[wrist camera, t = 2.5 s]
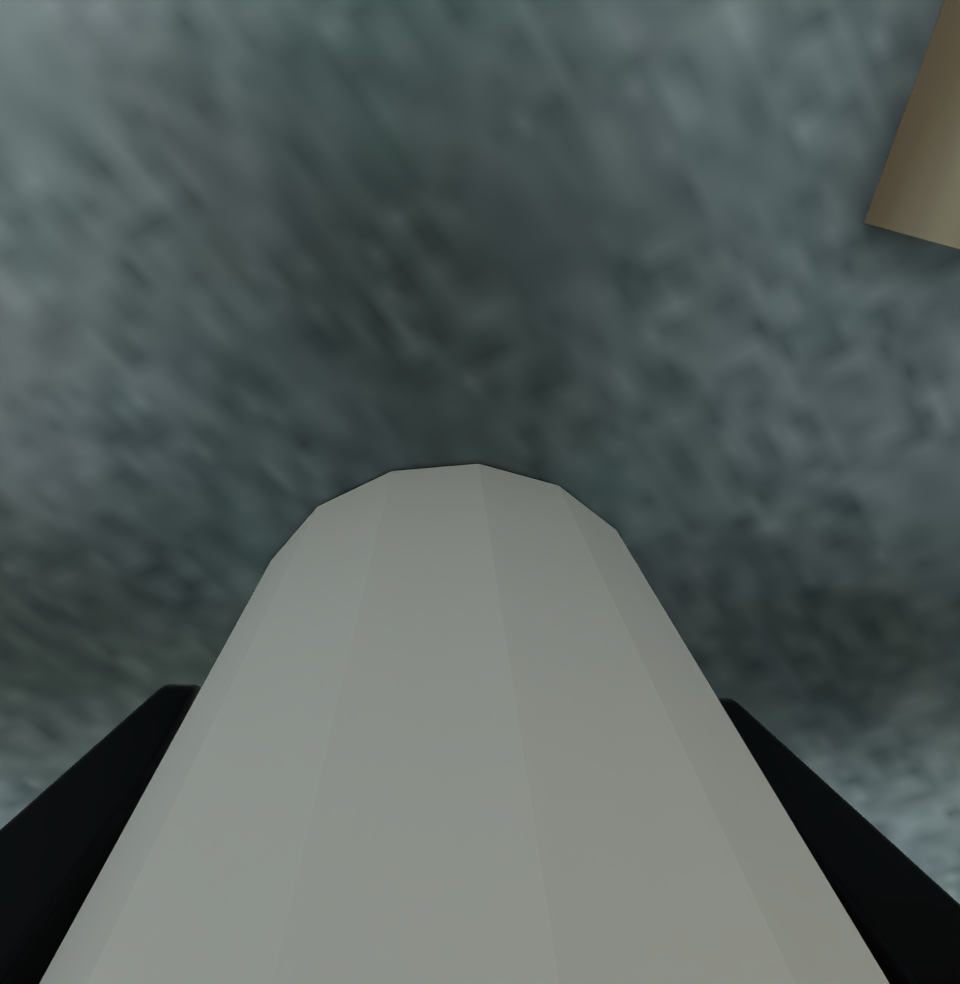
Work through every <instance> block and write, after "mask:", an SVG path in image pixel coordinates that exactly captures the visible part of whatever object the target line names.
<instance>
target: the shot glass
mask: <svg viewBox="0 0 960 984" xmlns="http://www.w3.org/2000/svg"><path fill="white" fill-rule="evenodd" d="M39 984H890V983H889V982H888V980H887V978H886V977H885V975H884V973H883V972H882V970H881V968H880V967H879V965H878V963H877V962H876V960H875V959H874V957H873V955H872V954H871V952H870V950H869V949H868V947H867V945H866V944H865V942H864V940H863V939H862V937H861V935H860V934H859V932H858V930H857V929H856V927H855V925H854V924H853V922H852V920H851V919H850V917H849V915H848V914H847V912H846V910H845V909H844V907H843V905H842V904H841V902H840V900H839V899H838V897H837V895H836V894H835V892H834V890H833V889H832V887H831V885H830V884H829V882H828V881H827V879H826V877H825V876H824V874H823V872H822V871H821V869H820V867H819V866H818V864H817V862H816V861H815V859H814V857H813V856H812V854H811V852H810V851H809V849H808V847H807V846H806V844H805V842H804V841H803V839H802V837H801V836H800V834H799V832H798V831H797V829H796V827H795V826H794V824H793V822H792V821H791V819H790V817H789V816H788V814H787V812H786V811H785V809H784V808H783V806H782V804H781V803H780V801H779V799H778V798H777V796H776V794H775V793H774V791H773V789H772V788H771V786H770V784H769V783H768V781H767V779H766V778H765V776H764V774H763V773H762V771H761V769H760V768H759V766H758V764H757V763H756V761H755V759H754V758H753V756H752V754H751V753H750V751H749V749H748V748H747V746H746V744H745V743H744V741H743V739H742V738H741V736H740V734H739V733H738V731H737V730H736V728H735V726H734V725H733V723H732V721H731V720H730V718H729V716H728V715H727V713H726V711H725V710H724V708H723V706H722V705H721V703H720V701H719V700H718V698H717V696H716V695H715V693H714V691H713V690H712V688H711V686H710V685H709V683H708V681H707V680H706V678H705V676H704V675H703V673H702V671H701V670H700V668H699V666H698V665H697V663H696V661H695V660H694V658H693V656H692V655H691V653H690V652H689V650H688V648H687V647H686V645H685V643H684V642H683V640H682V638H681V637H680V635H679V633H678V632H677V630H676V628H675V627H674V625H673V623H672V622H671V620H670V618H669V617H668V615H667V613H666V612H665V610H664V608H663V607H662V605H661V603H660V602H659V600H658V598H657V597H656V595H655V593H654V592H653V590H652V588H651V587H650V585H649V583H648V582H647V580H646V579H645V577H644V575H643V574H642V572H641V570H640V569H639V567H638V565H637V564H636V562H635V560H634V559H633V557H632V555H631V554H630V552H629V550H628V549H627V547H626V545H625V544H624V542H623V540H622V539H621V537H620V535H619V534H618V532H617V530H616V529H614V528H613V527H612V526H610V525H609V524H608V523H607V522H605V521H604V520H603V519H601V518H600V517H599V516H597V515H596V514H595V513H594V512H592V511H591V510H590V509H588V508H587V507H586V506H585V505H583V504H582V503H581V502H579V501H578V500H577V499H576V498H574V497H573V496H572V495H570V494H569V493H568V492H566V491H565V490H564V489H563V488H561V487H560V486H559V485H555V484H551V483H547V482H544V481H540V480H536V479H533V478H529V477H525V476H522V475H518V474H514V473H511V472H507V471H503V470H500V469H496V468H492V467H489V466H485V465H481V464H469V465H458V466H446V467H435V468H423V469H411V470H400V471H391V472H389V473H387V474H385V475H383V476H380V477H378V478H376V479H374V480H372V481H370V482H368V483H366V484H364V485H362V486H359V487H357V488H355V489H353V490H351V491H349V492H347V493H345V494H343V495H341V496H338V497H336V498H334V499H332V500H330V501H328V502H326V503H324V504H322V505H320V506H317V508H316V509H315V510H314V511H313V512H312V513H311V515H310V516H309V517H308V518H307V519H306V520H305V522H304V523H303V524H302V525H301V526H300V527H299V529H298V530H297V531H296V532H295V533H294V534H293V536H292V537H291V538H290V539H289V540H288V541H287V543H286V544H285V545H284V546H283V547H282V548H281V549H280V551H279V552H278V553H277V554H276V555H275V556H274V558H273V559H272V560H271V562H270V563H269V565H268V567H267V569H266V571H265V573H264V574H263V576H262V578H261V580H260V582H259V584H258V585H257V587H256V589H255V591H254V593H253V594H252V596H251V598H250V600H249V602H248V604H247V605H246V607H245V609H244V611H243V613H242V615H241V616H240V618H239V620H238V622H237V624H236V626H235V627H234V629H233V631H232V633H231V635H230V636H229V638H228V640H227V642H226V644H225V646H224V647H223V649H222V651H221V653H220V655H219V657H218V658H217V660H216V662H215V664H214V666H213V667H212V669H211V671H210V673H209V675H208V677H207V678H206V680H205V682H204V684H203V686H202V688H201V689H200V691H199V693H198V695H197V697H196V699H195V700H194V702H193V704H192V706H191V708H190V709H189V711H188V713H187V715H186V717H185V719H184V720H183V722H182V724H181V726H180V728H179V730H178V731H177V733H176V735H175V737H174V739H173V741H172V742H171V744H170V746H169V748H168V750H167V751H166V753H165V755H164V757H163V759H162V761H161V762H160V764H159V766H158V768H157V770H156V772H155V773H154V775H153V777H152V779H151V781H150V782H149V784H148V786H147V788H146V790H145V792H144V793H143V795H142V797H141V799H140V801H139V803H138V804H137V806H136V808H135V810H134V812H133V814H132V815H131V817H130V819H129V821H128V823H127V824H126V826H125V828H124V830H123V832H122V834H121V835H120V837H119V839H118V841H117V843H116V845H115V846H114V848H113V850H112V852H111V854H110V856H109V857H108V859H107V861H106V863H105V865H104V866H103V868H102V870H101V872H100V874H99V876H98V877H97V879H96V881H95V883H94V885H93V887H92V888H91V890H90V892H89V894H88V896H87V897H86V899H85V901H84V903H83V905H82V907H81V908H80V910H79V912H78V914H77V916H76V918H75V919H74V921H73V923H72V925H71V927H70V929H69V930H68V932H67V934H66V936H65V938H64V939H63V941H62V943H61V945H60V947H59V949H58V950H57V952H56V954H55V956H54V958H53V960H52V961H51V963H50V965H49V967H48V969H47V971H46V972H45V974H44V976H43V978H42V980H41V981H40V983H39Z"/></svg>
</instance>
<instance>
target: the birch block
mask: <svg viewBox="0 0 960 984" xmlns="http://www.w3.org/2000/svg"><path fill="white" fill-rule="evenodd" d="M864 223H866V224H870V225H873V226H877V227H880V228H884V229H888V230H891V231H895V232H899V233H902V234H906V235H910V236H913V237H917V238H921V239H924V240H928V241H932V242H935V243H939V244H942V245H946V246H950V247H953V248H957V249H960V0H944V3H943V6H942V9H941V12H940V14H939V17H938V20H937V23H936V25H935V28H934V31H933V34H932V36H931V39H930V42H929V45H928V47H927V50H926V53H925V56H924V59H923V61H922V64H921V67H920V70H919V72H918V75H917V78H916V81H915V83H914V86H913V89H912V92H911V94H910V97H909V100H908V103H907V105H906V108H905V111H904V114H903V117H902V119H901V122H900V125H899V128H898V130H897V133H896V136H895V139H894V141H893V144H892V147H891V150H890V152H889V155H888V158H887V161H886V164H885V166H884V169H883V172H882V175H881V177H880V180H879V183H878V186H877V188H876V191H875V194H874V197H873V199H872V202H871V205H870V208H869V210H868V213H867V216H866V219H865V222H864Z"/></svg>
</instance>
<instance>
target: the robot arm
mask: <svg viewBox="0 0 960 984" xmlns="http://www.w3.org/2000/svg"><path fill="white" fill-rule="evenodd" d="M200 689H201V688H200V687H199V686H196V685H179V684H169V685H165V686H163V687H161V688H160V689H159V690H157V691H156V692H155V693H154V694H153V695H152V696H151V697H150V698H148V699H147V700H146V701H145V702H144V703H143V704H142V705H141V706H139V707H138V708H137V709H136V710H135V711H134V712H133V713H132V714H130V715H129V716H128V717H127V718H126V719H125V720H124V721H123V722H121V723H120V724H119V725H118V726H117V727H116V728H115V729H114V730H112V731H111V732H110V733H109V734H108V735H107V736H106V737H105V738H103V739H102V740H101V741H100V742H99V743H98V744H97V745H95V746H94V747H93V748H92V749H91V750H90V751H89V752H88V753H86V754H85V755H84V756H83V757H82V758H81V759H80V760H79V761H77V762H76V763H75V764H74V765H73V766H72V767H71V768H70V769H68V770H67V771H66V772H65V773H64V774H63V775H62V776H61V777H59V778H58V779H57V780H56V781H55V782H54V783H53V784H52V785H50V786H49V787H48V788H47V789H46V790H45V791H44V792H43V793H41V794H40V795H39V796H38V797H37V798H36V799H35V800H34V801H32V802H31V803H30V804H29V805H28V806H27V807H26V808H25V809H23V810H22V811H21V812H20V813H19V814H18V815H17V816H16V817H14V818H13V819H12V820H11V821H10V822H9V823H8V824H6V825H5V826H4V827H3V828H2V829H1V830H0V984H39V983H40V981H41V980H42V978H43V976H44V974H45V972H46V971H47V969H48V967H49V965H50V963H51V961H52V960H53V958H54V956H55V954H56V952H57V950H58V949H59V947H60V945H61V943H62V941H63V939H64V938H65V936H66V934H67V932H68V930H69V929H70V927H71V925H72V923H73V921H74V919H75V918H76V916H77V914H78V912H79V910H80V908H81V907H82V905H83V903H84V901H85V899H86V897H87V896H88V894H89V892H90V890H91V888H92V887H93V885H94V883H95V881H96V879H97V877H98V876H99V874H100V872H101V870H102V868H103V866H104V865H105V863H106V861H107V859H108V857H109V856H110V854H111V852H112V850H113V848H114V846H115V845H116V843H117V841H118V839H119V837H120V835H121V834H122V832H123V830H124V828H125V826H126V824H127V823H128V821H129V819H130V817H131V815H132V814H133V812H134V810H135V808H136V806H137V804H138V803H139V801H140V799H141V797H142V795H143V793H144V792H145V790H146V788H147V786H148V784H149V782H150V781H151V779H152V777H153V775H154V773H155V772H156V770H157V768H158V766H159V764H160V762H161V761H162V759H163V757H164V755H165V753H166V751H167V750H168V748H169V746H170V744H171V742H172V741H173V739H174V737H175V735H176V733H177V731H178V730H179V728H180V726H181V724H182V722H183V720H184V719H185V717H186V715H187V713H188V711H189V709H190V708H191V706H192V704H193V702H194V700H195V699H196V697H197V695H198V693H199V691H200ZM718 700H719V701H720V703H721V705H722V706H723V708H724V710H725V711H726V713H727V715H728V716H729V718H730V720H731V721H732V723H733V725H734V726H735V728H736V730H737V731H738V733H739V734H740V736H741V738H742V739H743V741H744V743H745V744H746V746H747V748H748V749H749V751H750V753H751V754H752V756H753V758H754V759H755V761H756V763H757V764H758V766H759V768H760V769H761V771H762V773H763V774H764V776H765V778H766V779H767V781H768V783H769V784H770V786H771V788H772V789H773V791H774V793H775V794H776V796H777V798H778V799H779V801H780V803H781V804H782V806H783V808H784V809H785V811H786V812H787V814H788V816H789V817H790V819H791V821H792V822H793V824H794V826H795V827H796V829H797V831H798V832H799V834H800V836H801V837H802V839H803V841H804V842H805V844H806V846H807V847H808V849H809V851H810V852H811V854H812V856H813V857H814V859H815V861H816V862H817V864H818V866H819V867H820V869H821V871H822V872H823V874H824V876H825V877H826V879H827V881H828V882H829V884H830V885H831V887H832V889H833V890H834V892H835V894H836V895H837V897H838V899H839V900H840V902H841V904H842V905H843V907H844V909H845V910H846V912H847V914H848V915H849V917H850V919H851V920H852V922H853V924H854V925H855V927H856V929H857V930H858V932H859V934H860V935H861V937H862V939H863V940H864V942H865V944H866V945H867V947H868V949H869V950H870V952H871V954H872V955H873V957H874V959H875V960H876V962H877V963H878V965H879V967H880V968H881V970H882V972H883V973H884V975H885V977H886V978H887V980H888V982H889V983H890V984H960V904H959V903H958V902H956V901H955V900H954V899H953V898H952V897H951V896H950V895H949V894H948V893H947V892H945V891H944V890H943V889H942V888H941V887H940V886H939V885H938V884H937V883H936V882H934V881H933V880H932V879H931V878H930V877H929V876H928V875H927V874H926V873H924V872H923V871H922V870H921V869H920V868H919V867H918V866H917V865H916V864H915V863H913V862H912V861H911V860H910V859H909V858H908V857H907V856H906V855H905V854H904V853H902V852H901V851H900V850H899V849H898V848H897V847H896V846H895V845H894V844H893V843H891V842H890V841H889V840H888V839H887V838H886V837H885V836H884V835H883V834H882V833H880V832H879V831H878V830H877V829H876V828H875V827H874V826H873V825H872V824H871V823H869V822H868V821H867V820H866V819H865V818H864V817H863V816H862V815H861V814H860V813H858V812H857V811H856V810H855V809H854V808H853V807H852V806H851V805H850V804H849V803H847V802H846V801H845V800H844V799H843V798H842V797H841V796H840V795H839V794H837V793H836V792H835V791H834V790H833V789H832V788H831V787H830V786H829V785H828V784H826V783H825V782H824V781H823V780H822V779H821V778H820V777H819V776H818V775H817V774H815V773H814V772H813V771H812V770H811V769H810V768H809V767H808V766H807V765H806V764H804V763H803V762H802V761H801V760H800V759H799V758H798V757H797V756H796V755H795V754H793V753H792V752H791V751H790V750H789V749H788V748H787V747H786V746H785V745H784V744H782V743H781V742H780V741H779V740H778V739H777V738H776V737H775V736H774V735H773V734H771V733H770V732H769V731H768V730H767V729H766V728H765V727H764V726H763V725H762V724H760V723H759V722H758V721H757V720H756V719H755V718H754V717H753V716H752V715H750V714H749V713H748V712H747V711H746V710H745V709H744V708H743V707H742V706H741V705H739V704H738V703H737V702H735V701H734V700H732V699H727V698H718Z"/></svg>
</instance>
